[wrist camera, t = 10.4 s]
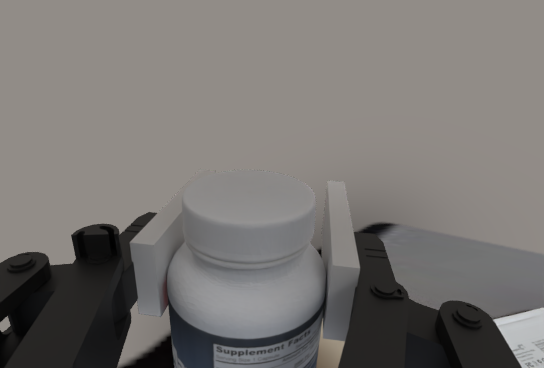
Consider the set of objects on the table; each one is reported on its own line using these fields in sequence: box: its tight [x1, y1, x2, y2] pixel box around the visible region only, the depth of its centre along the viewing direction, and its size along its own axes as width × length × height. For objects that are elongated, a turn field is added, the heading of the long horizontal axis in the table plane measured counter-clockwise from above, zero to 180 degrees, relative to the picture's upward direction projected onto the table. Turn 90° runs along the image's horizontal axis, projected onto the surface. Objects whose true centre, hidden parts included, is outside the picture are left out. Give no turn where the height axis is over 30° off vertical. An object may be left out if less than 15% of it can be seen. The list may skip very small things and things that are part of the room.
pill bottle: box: [167, 170, 327, 368], centre depth 12 cm, size 5×5×9 cm
